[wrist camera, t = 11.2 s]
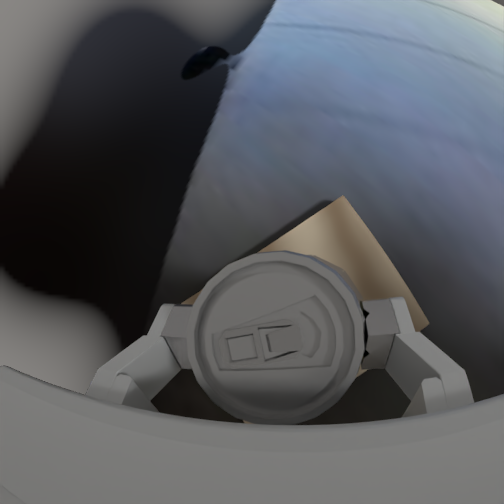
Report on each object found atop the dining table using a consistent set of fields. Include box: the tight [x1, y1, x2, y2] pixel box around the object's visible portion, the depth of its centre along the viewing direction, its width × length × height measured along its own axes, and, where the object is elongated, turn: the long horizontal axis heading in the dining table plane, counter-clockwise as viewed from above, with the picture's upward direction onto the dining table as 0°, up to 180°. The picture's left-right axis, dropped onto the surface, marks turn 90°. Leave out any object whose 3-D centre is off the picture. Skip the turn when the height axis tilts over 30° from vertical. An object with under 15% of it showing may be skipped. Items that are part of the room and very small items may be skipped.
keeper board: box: [181, 196, 430, 424], centre depth 21 cm, size 16×12×4 cm
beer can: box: [186, 250, 366, 425], centre depth 14 cm, size 5×5×12 cm
